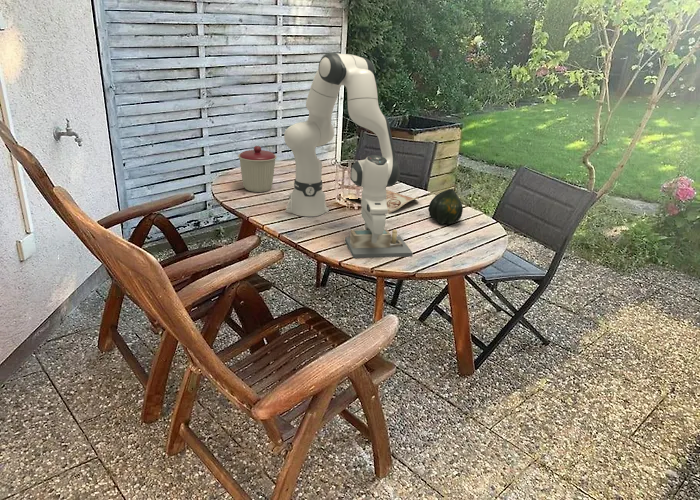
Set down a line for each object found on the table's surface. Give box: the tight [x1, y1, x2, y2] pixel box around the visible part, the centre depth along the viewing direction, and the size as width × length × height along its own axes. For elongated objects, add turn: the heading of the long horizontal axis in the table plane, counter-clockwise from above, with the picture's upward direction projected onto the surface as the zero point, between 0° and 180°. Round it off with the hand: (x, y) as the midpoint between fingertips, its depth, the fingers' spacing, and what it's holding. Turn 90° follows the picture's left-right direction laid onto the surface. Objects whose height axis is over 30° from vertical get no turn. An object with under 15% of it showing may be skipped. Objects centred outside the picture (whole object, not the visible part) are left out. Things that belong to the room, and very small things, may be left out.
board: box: [344, 229, 414, 259], centre depth 196 cm, size 16×22×7 cm
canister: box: [237, 145, 278, 193], centre depth 252 cm, size 18×18×21 cm
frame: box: [349, 228, 403, 248], centre depth 196 cm, size 19×6×5 cm, turn 102°
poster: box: [386, 189, 419, 214], centre depth 252 cm, size 28×6×30 cm
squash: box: [427, 188, 464, 225], centre depth 228 cm, size 14×15×15 cm
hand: (370, 237), depth 195 cm, fingers open, 8 cm apart
